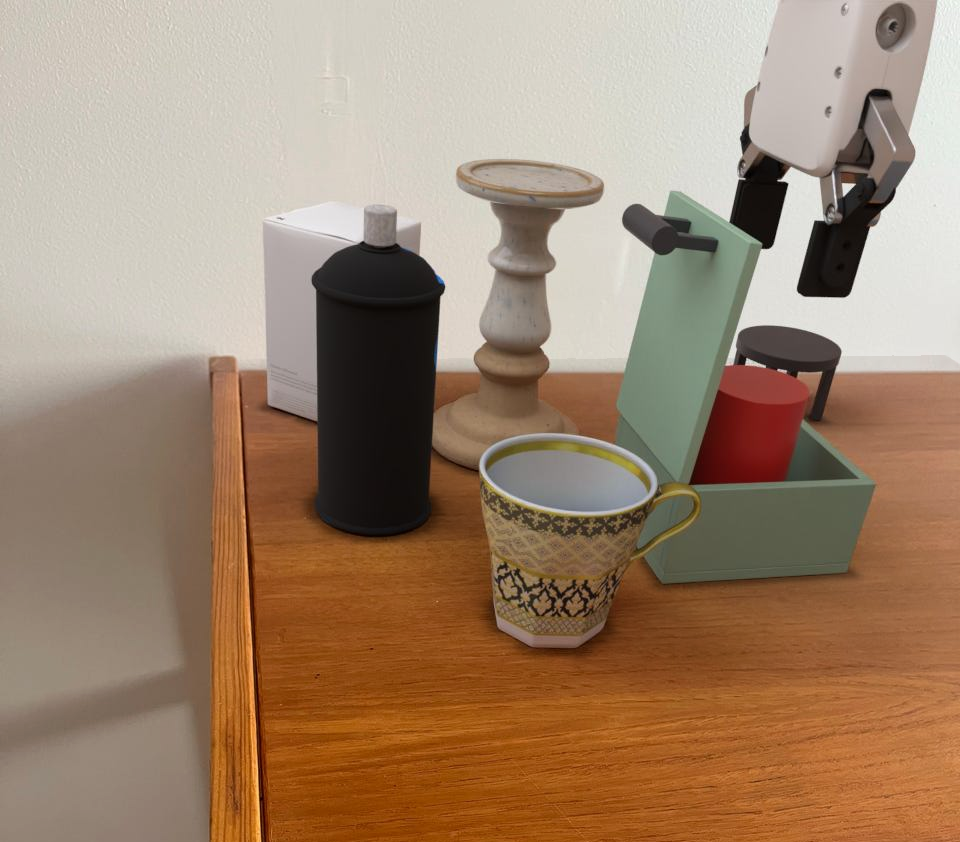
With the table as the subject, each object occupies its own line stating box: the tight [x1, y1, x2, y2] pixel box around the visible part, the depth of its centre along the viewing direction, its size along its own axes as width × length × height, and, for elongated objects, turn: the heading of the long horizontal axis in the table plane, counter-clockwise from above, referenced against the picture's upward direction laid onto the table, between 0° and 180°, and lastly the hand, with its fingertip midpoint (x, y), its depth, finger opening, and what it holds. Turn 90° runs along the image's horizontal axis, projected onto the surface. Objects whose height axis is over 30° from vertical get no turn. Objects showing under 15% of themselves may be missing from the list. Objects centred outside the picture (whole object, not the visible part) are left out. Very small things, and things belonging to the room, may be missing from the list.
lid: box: [615, 190, 762, 484], centre depth 63 cm, size 14×12×5 cm
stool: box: [732, 324, 843, 421], centre depth 92 cm, size 9×9×6 cm
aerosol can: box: [311, 204, 446, 537], centre depth 67 cm, size 8×8×20 cm
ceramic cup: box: [478, 433, 701, 649], centre depth 60 cm, size 13×10×10 cm
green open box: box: [613, 413, 877, 585], centre depth 71 cm, size 14×12×7 cm
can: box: [688, 364, 811, 485], centre depth 70 cm, size 7×7×10 cm
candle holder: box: [432, 158, 605, 471], centre depth 77 cm, size 12×12×20 cm
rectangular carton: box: [262, 200, 422, 422], centre depth 82 cm, size 9×9×15 cm
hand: (783, 270), depth 63 cm, fingers open, 9 cm apart
